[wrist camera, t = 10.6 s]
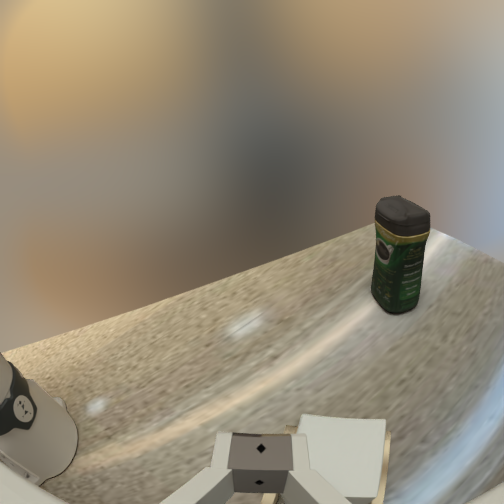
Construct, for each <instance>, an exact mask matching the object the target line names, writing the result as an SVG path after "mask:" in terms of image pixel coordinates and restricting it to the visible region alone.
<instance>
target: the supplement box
mask: <svg viewBox="0 0 504 504" xmlns="http://www.w3.org/2000/svg"><path fill="white" fill-rule="evenodd" d="M301 433H305V434H306V436H307V444H308V452H309V461H310V469H311V470H316V471H317V472H318V473H319V474H320V475H321V476H322V477H323V478H324V479H325V480H326V481H327V482H328V483H329V484H331V485H332V486H333V487H334V488H335V489H336V490H337V491H338V492H339V493H340V494H341V495H343V496H344V497H345V498H346V499H347V500H348V501H349V502H351V503H352V504H369V503H370V502H371V501H372V500H374V499H375V498H376V497H377V495H378V491H379V485H380V479H381V472H382V465H383V456H384V445H385V433H386V419H351V418H337V417H327V416H318V415H309V414H302V416H301V418H300V422H299V426H298V429H297V433H296V434H301ZM280 494H281V493H280ZM281 496H282V498H283V500H284V502H285V504H290V503H289V501H288V500H287V499H286V497H285V496H284V495H283V494H281Z"/></svg>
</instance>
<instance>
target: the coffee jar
mask: <svg viewBox="0 0 504 504" xmlns="http://www.w3.org/2000/svg"><path fill="white" fill-rule="evenodd" d="M375 227H376V250H375V261H374V270H373V277H372V285H371V291H372V293H373V295H374V297H375V298H376V300H377V301H378V302H379V304H380V305H381V306H382V307H383V308H384V309H385V310H387V311H388V312H394V313H398V312H404V311H407V310H410V309H412V308H413V307H415V306H416V305H417V303H418V300H419V294H420V288H421V278H422V269H423V261H424V252H425V245H426V241H427V238H428V236H429V233H430V213H429V212H428V211H427V210H425V209H423V208H422V207H420V206H418V205H416V204H415V203H413V202H411V201H408V200H406V199H404V198H402V197H401V196H391V197H384V198H381V199H380V201H379V202H378V203H377V205H376V212H375Z"/></svg>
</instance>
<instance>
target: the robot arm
mask: <svg viewBox="0 0 504 504" xmlns="http://www.w3.org/2000/svg"><path fill="white" fill-rule="evenodd" d="M77 440H78V436H77V429H76V425H75V423H74V421H73V419H72V418H71V417H70V415H69V414H68V413H67V410H66V405H65V402H64V400H62V399H61V398H60V397H51V396H50V395H49V394H48V393H47V392H46V391H45V390H44V389H43V388H42V387H41V386H40V385H39V384H38V383H37V382H36V381H34V380H33V379H31V380H30V379H25V378H24V377H23V376H22V374H21V372H20V371H19V370H18V369H17V368H16V367H15V366H14V365H13V364H12V363H11V362H9V361H7V360H6V359H5V358H4V357H3V355H2V354H1V353H0V459H1V460H2V461H3V462H4V463H5V464H6V465H5V464H4V463H3V462H1V461H0V504H70V503H68V502H66V501H64V500H62V499H60V498H58V497H56V496H54V495H52V494H51V493H49V492H47V491H45V490H44V489H42V488H40V487H38V486H39V485H41V484H42V483H43V482H44V481H45V480H46V479H48V478H51V477H54V476H56V475H58V474H60V473H61V472H62V471H64V470H65V469H66V468H67V466H68V465H69V464H70V462H71V461H72V459H73V457H74V454H75V451H76V447H77ZM9 467H10V468H9ZM234 492H240V493H281V494H283V495H284V496H285V497H286V499H287V500H288V501H289V503H290V504H352V503H351V502H349V501H348V500H347V499H346V498H345V497H344V496H343V495H341V494H340V493H339V492H338V491H337V490H336V489H335V488H334V487H333V486H332V485H331V484H329V483H328V482H327V481H326V480H325V479H324V478H323V477H322V476H321V475H320V474H319V473H318V472H317V471H316V470H311V469H310V461H309V452H308V444H307V436H306V434H305V433H301V434H247V433H234V432H223V431H218V433H217V435H216V440H215V445H214V450H213V455H212V460H211V466H210V467H205V468H204V469H203V470H202V471H200V472H199V473H198V474H197V475H196V476H194V477H193V478H192V479H191V480H189V481H188V482H187V483H186V484H184V485H183V486H182V487H180V488H179V489H178V490H177V491H175V492H174V493H173V494H171V495H170V496H169V497H167V498H166V499H165V500H163V501H162V502H160V504H225V503H226V502H227V501H228V500H229V499H230V498H231V497H232V495H233V494H234ZM465 504H504V482H502V483H500V484H499V485H497V486H496V487H494V488H492V489H491V490H489V491H487V492H485V493H484V494H482V495H480V496H478V497H476V498H475V499H473V500H471V501H469V502H467V503H465Z"/></svg>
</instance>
